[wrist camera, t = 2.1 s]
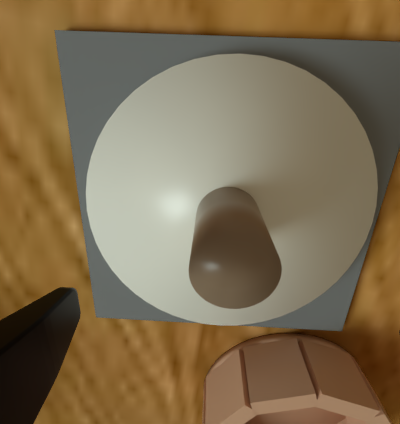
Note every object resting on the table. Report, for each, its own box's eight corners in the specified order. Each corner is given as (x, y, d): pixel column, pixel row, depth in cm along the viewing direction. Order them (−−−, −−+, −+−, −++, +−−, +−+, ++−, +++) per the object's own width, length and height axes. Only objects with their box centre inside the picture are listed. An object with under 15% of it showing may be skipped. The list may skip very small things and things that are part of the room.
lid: (107, 308, 16) (62, 397, 12) (74, 51, 11) (-33, 15, 6) (333, 321, 16) (385, 418, 11) (408, 61, 11) (568, 30, 6)
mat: (99, 311, 17) (96, 317, 17) (60, 33, 11) (54, 30, 11) (338, 324, 17) (341, 331, 16) (423, 45, 11) (432, 43, 11)
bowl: (200, 436, 22) (198, 504, 18) (207, 325, 17) (206, 387, 14) (341, 445, 22) (368, 516, 18) (385, 335, 17) (433, 401, 13)
